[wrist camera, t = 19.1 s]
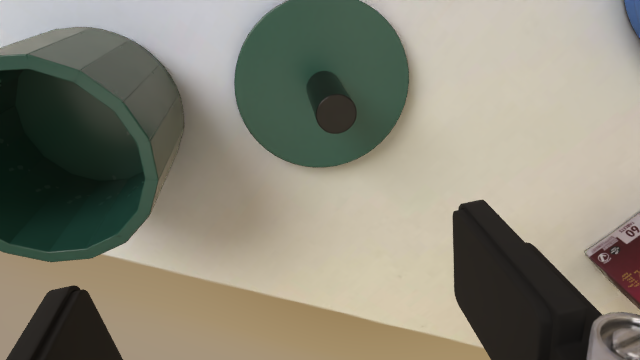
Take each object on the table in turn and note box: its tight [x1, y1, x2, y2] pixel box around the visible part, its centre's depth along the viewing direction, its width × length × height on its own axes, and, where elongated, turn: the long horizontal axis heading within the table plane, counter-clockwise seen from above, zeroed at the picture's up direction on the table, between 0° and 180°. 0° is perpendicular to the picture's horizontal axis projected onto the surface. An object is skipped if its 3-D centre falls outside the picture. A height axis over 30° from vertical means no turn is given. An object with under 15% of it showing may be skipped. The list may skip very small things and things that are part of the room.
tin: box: [0, 27, 184, 262], centre depth 27 cm, size 11×11×10 cm
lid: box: [235, 0, 409, 167], centre depth 29 cm, size 12×12×7 cm
